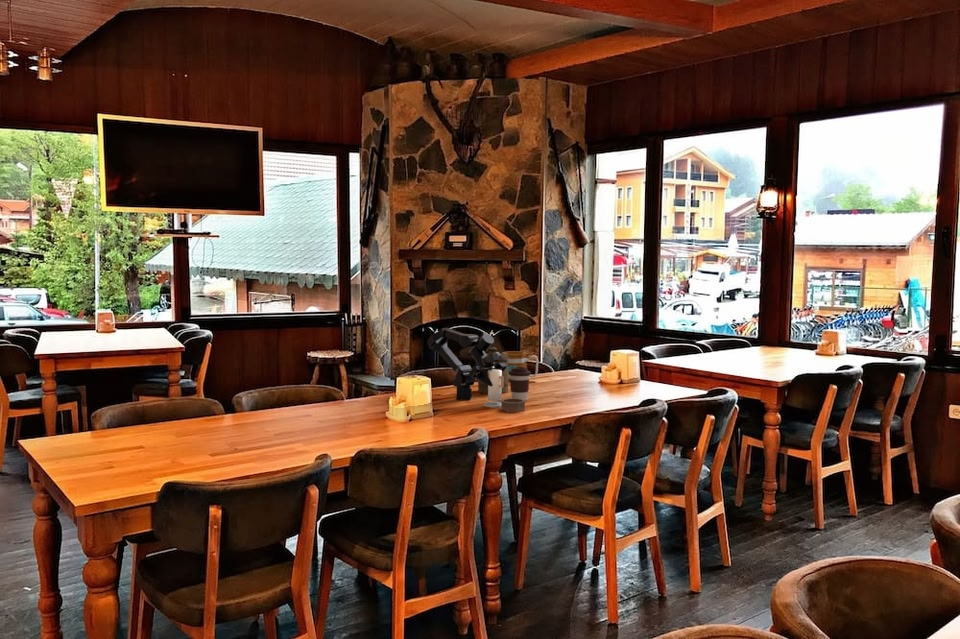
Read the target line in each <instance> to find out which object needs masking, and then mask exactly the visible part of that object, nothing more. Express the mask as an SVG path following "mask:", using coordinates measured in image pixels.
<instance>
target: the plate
mask: <svg viewBox="0 0 960 639" xmlns="http://www.w3.org/2000/svg"><path fill="white" fill-rule="evenodd" d="M484 406H486V407H485V408H487V407H493V408H492V409H500V408H499V407H501V401H485V402H484V403H483V407H484Z"/></svg>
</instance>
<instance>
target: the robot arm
mask: <svg viewBox="0 0 960 639" xmlns="http://www.w3.org/2000/svg"><path fill="white" fill-rule="evenodd" d="M449 340H453V341H455V342H457V343H459V344H460V346H462V347H463V348H466V349H469V348H471V349H469V350H468V353H467V357H472V358H473V359H474V361H475V363H474V366H473V367H472V366H471V365H470V364H467V365H466V364H465V365H463V363H462V362H461V361H460V360H459V359H458V357H457V356H456V355H455V354H454V353H453V351H452V350H451V349H450V348H449V347H448V341H449ZM426 342H427V346H428V347H429V349H431V350H432V351H434V352H436V353H439V355H440V356H441V357H442V358H443V360H444V361H445V362H446V363H447V364H448V365H449V367H450V368H451V369H452V370H453V371H454V377H455V378H454V379H453V381H452V385H453V387H456V397H455V400H457V401H471V399H472V396H473V394H472V393H473V391H472V390H473V389H472V388H471V386H474V385H475V381H476V380H478V379H479V380H481V381H482V382H484V383H486V384H487V385H489V386H491V387H492V383H491V381H490V379H489V377H488V375H487V372H488V370H492V369H497V370H502V372H503V371H504V370H505V369H506V367H507V365H506V364H505V363H497V365H496V366H495V367H493V365H494V364H495V362H496V361H499V359H500V358H501V355H500V352H499V351H496V352H495V353H494V354H490V355H486V354H485V353H486V352H487V351H488V350H490V348H491V347H492V345H493V344H494V342H495V339H494V337H493V336H491V335H490V334H488V333H487V332H485V331H484V332H481V334H480V336H479V335H477V334H472V333H470V334H467V333H463V332H460V331H456V330H455V329H451V328H450V327H442V328H439V330H438V331H437V332H435V333H433V334H432V335H430V336H429V337H428V339H427V341H426Z"/></svg>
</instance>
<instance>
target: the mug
mask: <svg viewBox="0 0 960 639" xmlns="http://www.w3.org/2000/svg"><path fill="white" fill-rule="evenodd" d="M501 354H507V355H508V383H509V382H510V375H509V371H511V370H512V368H514V367H525V368H527V369H528V364H527V361H530V360H531V359H532V358H535V361H536V362H535V373H534V374H533V375H532V374H530V375H529V378H535V377H537V374H538V372H539V358H538V356H537V355H534V354H533V355H530V356H529V357H528V358H527V356H528V353H527V352H525V351H520V350H519V351H515V350H513V351H509V350H508V351H503V352H501Z"/></svg>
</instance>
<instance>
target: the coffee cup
mask: <svg viewBox="0 0 960 639" xmlns="http://www.w3.org/2000/svg"><path fill="white" fill-rule="evenodd" d="M509 375H510V383H509V385H510V386H509V387H510V394H511V397H510V398H511V399H523V400H525V401H527V400H528V394H529V388H530V377H529V375H531V370H528V367H527V368H525V367H514V368H512V370H511V371H509Z"/></svg>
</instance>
